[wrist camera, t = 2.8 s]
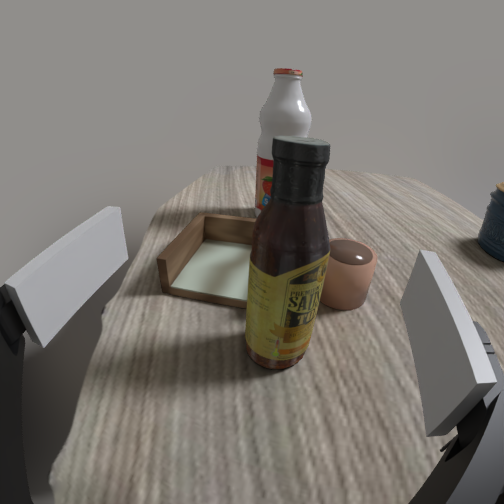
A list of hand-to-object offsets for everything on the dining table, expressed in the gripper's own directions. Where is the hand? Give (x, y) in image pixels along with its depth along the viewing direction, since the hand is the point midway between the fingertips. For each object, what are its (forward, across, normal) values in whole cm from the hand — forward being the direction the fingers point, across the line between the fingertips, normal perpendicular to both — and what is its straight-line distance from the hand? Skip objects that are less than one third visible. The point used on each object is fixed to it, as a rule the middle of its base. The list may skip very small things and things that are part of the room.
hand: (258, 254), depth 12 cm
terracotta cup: (+21, +8, -16) cm, 28 cm away
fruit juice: (+42, -4, -17) cm, 46 cm away
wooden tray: (+22, -7, -16) cm, 28 cm away
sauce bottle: (+10, +1, -17) cm, 19 cm away
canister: (+44, +49, -16) cm, 68 cm away
